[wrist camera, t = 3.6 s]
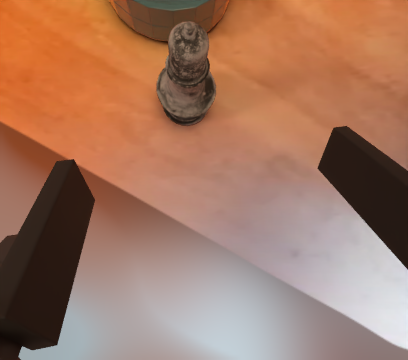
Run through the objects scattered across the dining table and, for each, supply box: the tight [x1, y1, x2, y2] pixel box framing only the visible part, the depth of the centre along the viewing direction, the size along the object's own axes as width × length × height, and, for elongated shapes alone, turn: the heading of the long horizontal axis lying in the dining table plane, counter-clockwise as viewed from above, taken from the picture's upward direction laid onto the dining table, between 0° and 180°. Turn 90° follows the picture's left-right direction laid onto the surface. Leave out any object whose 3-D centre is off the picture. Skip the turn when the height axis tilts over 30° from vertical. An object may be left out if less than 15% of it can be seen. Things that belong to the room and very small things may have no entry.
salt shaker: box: [157, 21, 216, 126], centre depth 20 cm, size 6×6×12 cm
